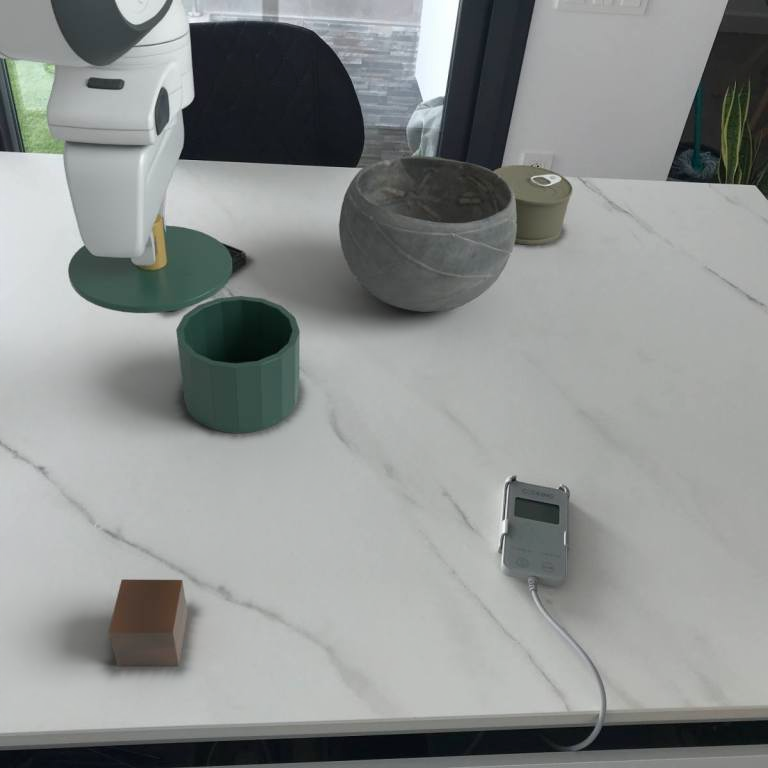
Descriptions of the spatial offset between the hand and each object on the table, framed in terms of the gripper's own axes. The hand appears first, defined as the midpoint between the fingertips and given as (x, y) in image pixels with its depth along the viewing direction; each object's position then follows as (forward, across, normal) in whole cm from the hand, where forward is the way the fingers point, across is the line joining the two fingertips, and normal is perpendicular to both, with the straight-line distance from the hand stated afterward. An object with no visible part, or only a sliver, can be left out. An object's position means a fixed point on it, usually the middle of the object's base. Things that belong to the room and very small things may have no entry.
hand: (149, 249), depth 62 cm
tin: (+22, -8, +6) cm, 23 cm away
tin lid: (+2, 0, 0) cm, 2 cm away
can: (+21, -48, +44) cm, 68 cm away
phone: (+21, -30, -3) cm, 37 cm away
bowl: (+21, -28, +26) cm, 44 cm away
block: (+22, +21, +2) cm, 31 cm away
